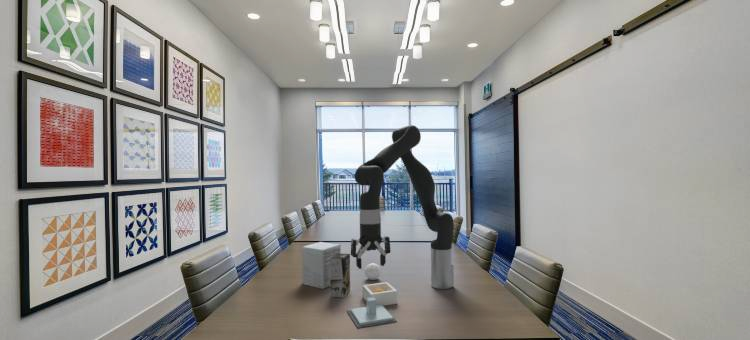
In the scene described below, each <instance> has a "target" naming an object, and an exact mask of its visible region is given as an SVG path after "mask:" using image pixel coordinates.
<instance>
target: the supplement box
mask: <svg viewBox="0 0 750 340" xmlns="http://www.w3.org/2000/svg"><path fill="white" fill-rule="evenodd" d="M301 253H302V254H301V258H302V259H301V261H302V262H301V263H302V264H301V266H302V270H301V271H302V274H301V277H302V279H301V280H302V285H306V286H310V287H315V288H317V289H321V290H324V289H326V288H328V287H330V258H332V257H333V256H334V255H336V254H342V252H341V244H338V243H330V242H324V241H319V242H315V243H311V244H308V245H307V244H306V245H304V246H301Z"/></svg>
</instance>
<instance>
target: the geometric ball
mask: <svg viewBox="0 0 750 340" xmlns="http://www.w3.org/2000/svg"><path fill="white" fill-rule="evenodd" d="M381 273H382V272H381V267H380V266H379V265H378V264H377V263H373V262H372V263H369V264H368V265H366V267H365V269H364V274H365V275H364V276H366V278H367V279H368V280H370V281H375V280H377V279H378V278H380V275H381Z"/></svg>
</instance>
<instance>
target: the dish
mask: <svg viewBox="0 0 750 340" xmlns="http://www.w3.org/2000/svg"><path fill="white" fill-rule="evenodd" d="M361 286H362V287H361V288H362V299H363V300H364V301H365V302H366V298H372V297H374V298H375V299H376V305H383V306H384V307H385V306H390V305H396V304H397V305H398V290H397V289H396V288H395V287H394V286H393V285H391V284H390V283H389V282H388V281H386V282H384V281H383V282H377V283H371V284H370V283H369V284H364V285H363V284H362V285H361ZM377 289H382V290H383V292H376V293H375V291H376V290H377Z"/></svg>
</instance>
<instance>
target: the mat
mask: <svg viewBox="0 0 750 340" xmlns="http://www.w3.org/2000/svg"><path fill="white" fill-rule="evenodd" d="M382 306H383V305H382ZM383 307H384V308H385V309H386V307H385V306H383ZM346 312H347V315H349V317H350V319H351V320H352V321H353V324H354V325H355V327H356V329H362V328H369V327H374V326H380V325H385V324H386V325H387V324H392V323H397V319H396V318H395V317H394V316H393V315H392V314H391V316H392V317H393V320H389V321H383V322H377V323H371V324H365V325H360V324H359V323H358V321H357V320H356V318H355V317H354V315H353V314H352V312H351V309H350V310H349V309H348V310H347V311H346Z"/></svg>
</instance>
